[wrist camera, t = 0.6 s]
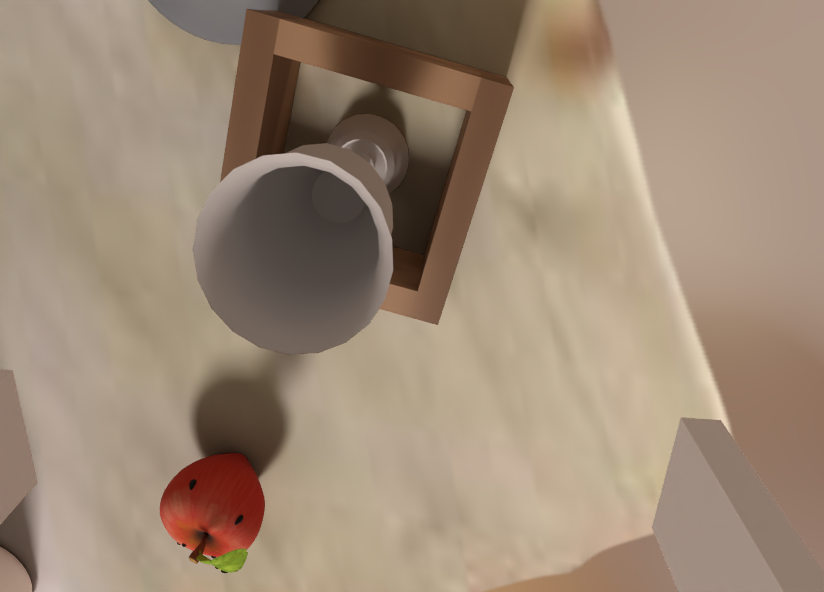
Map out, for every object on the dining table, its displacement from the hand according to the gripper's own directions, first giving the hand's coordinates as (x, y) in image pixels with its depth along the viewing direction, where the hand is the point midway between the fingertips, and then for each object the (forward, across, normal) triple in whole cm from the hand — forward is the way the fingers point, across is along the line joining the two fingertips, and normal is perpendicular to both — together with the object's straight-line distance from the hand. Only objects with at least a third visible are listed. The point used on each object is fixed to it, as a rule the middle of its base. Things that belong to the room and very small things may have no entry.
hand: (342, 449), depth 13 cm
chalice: (+28, -3, 0) cm, 28 cm away
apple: (+28, -12, -24) cm, 38 cm away
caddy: (+28, -3, 0) cm, 28 cm away
